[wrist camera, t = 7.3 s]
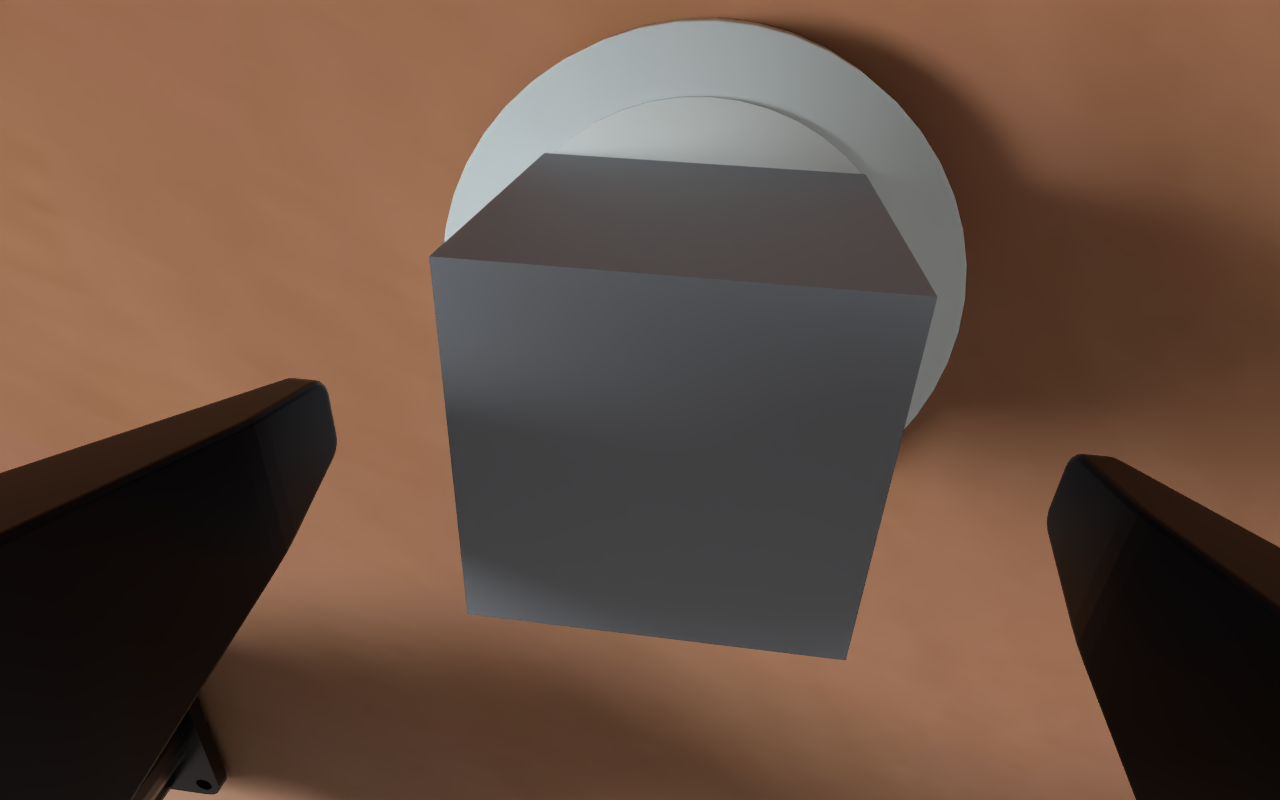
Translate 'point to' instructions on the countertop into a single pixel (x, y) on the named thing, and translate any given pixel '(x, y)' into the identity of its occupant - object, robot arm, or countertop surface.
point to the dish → (736, 134)
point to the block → (677, 397)
